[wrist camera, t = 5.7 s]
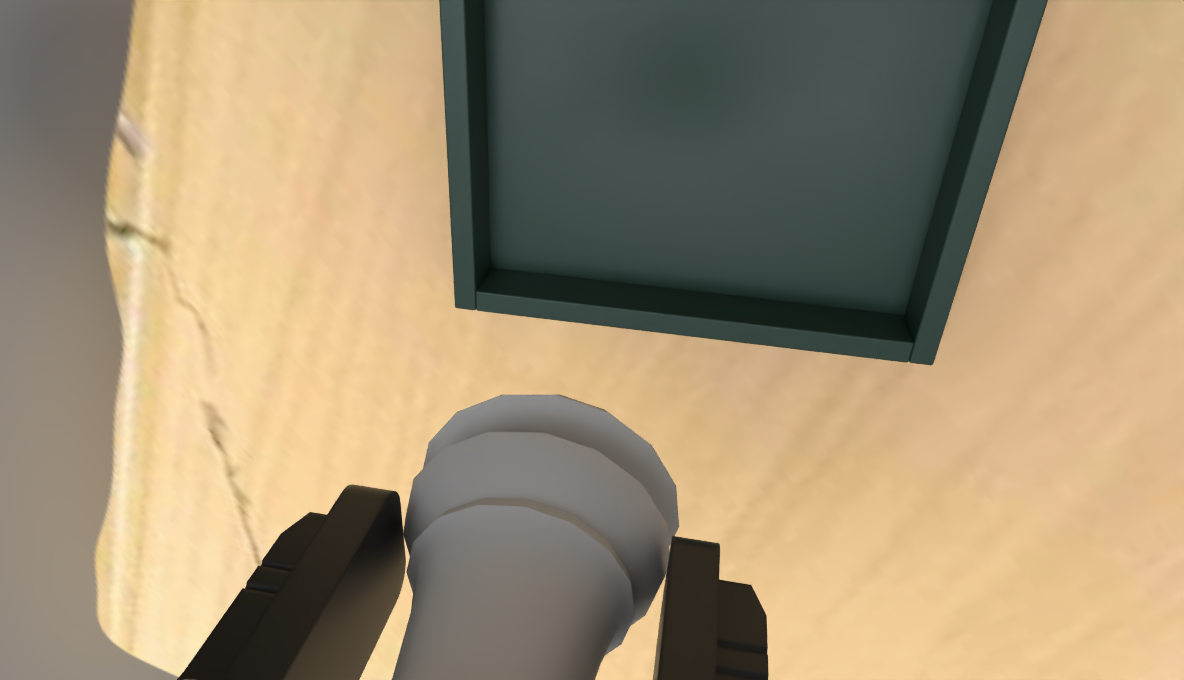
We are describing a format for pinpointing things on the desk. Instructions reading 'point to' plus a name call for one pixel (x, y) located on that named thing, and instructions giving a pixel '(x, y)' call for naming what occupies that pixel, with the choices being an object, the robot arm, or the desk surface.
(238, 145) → the desk surface
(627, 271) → the tray
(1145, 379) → the desk surface
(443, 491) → the rook chess piece
